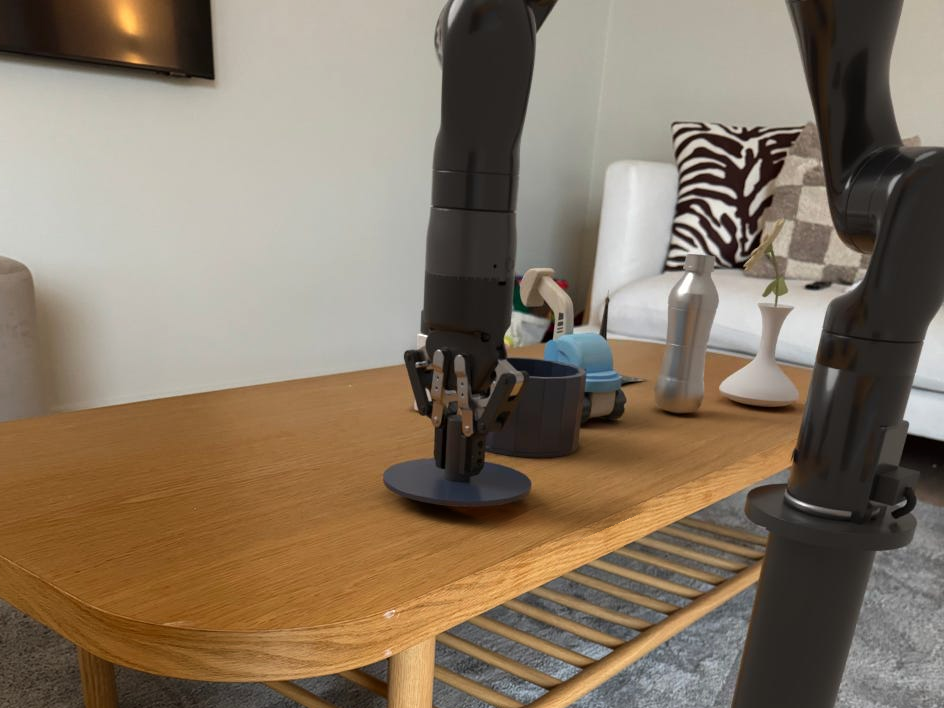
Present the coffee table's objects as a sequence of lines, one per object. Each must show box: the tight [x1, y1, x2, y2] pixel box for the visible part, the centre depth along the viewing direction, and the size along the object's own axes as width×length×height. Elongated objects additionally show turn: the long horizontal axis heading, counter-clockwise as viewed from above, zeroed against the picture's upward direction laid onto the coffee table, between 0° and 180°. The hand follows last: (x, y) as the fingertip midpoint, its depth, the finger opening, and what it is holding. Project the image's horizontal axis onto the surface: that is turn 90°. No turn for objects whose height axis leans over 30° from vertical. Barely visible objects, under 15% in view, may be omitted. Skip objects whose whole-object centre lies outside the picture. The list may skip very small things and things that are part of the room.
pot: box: [472, 356, 587, 459], centre depth 108 cm, size 13×18×8 cm
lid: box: [382, 415, 533, 508], centre depth 86 cm, size 14×14×7 cm
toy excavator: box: [519, 267, 627, 425], centre depth 122 cm, size 9×17×17 cm, turn 37°
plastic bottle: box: [653, 253, 720, 415], centre depth 126 cm, size 6×7×20 cm
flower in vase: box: [718, 217, 800, 408], centre depth 134 cm, size 13×11×25 cm
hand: (458, 470), depth 87 cm, fingers closed on lid, 2 cm apart
